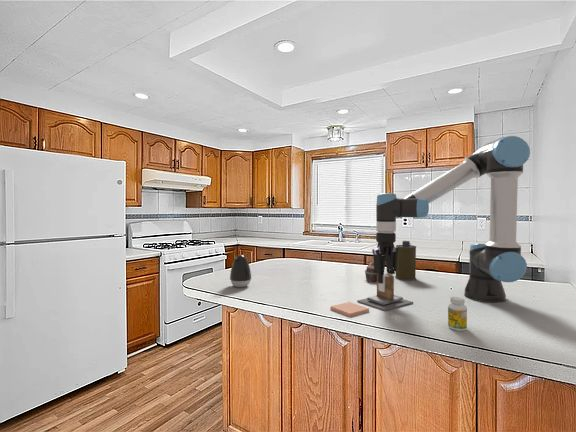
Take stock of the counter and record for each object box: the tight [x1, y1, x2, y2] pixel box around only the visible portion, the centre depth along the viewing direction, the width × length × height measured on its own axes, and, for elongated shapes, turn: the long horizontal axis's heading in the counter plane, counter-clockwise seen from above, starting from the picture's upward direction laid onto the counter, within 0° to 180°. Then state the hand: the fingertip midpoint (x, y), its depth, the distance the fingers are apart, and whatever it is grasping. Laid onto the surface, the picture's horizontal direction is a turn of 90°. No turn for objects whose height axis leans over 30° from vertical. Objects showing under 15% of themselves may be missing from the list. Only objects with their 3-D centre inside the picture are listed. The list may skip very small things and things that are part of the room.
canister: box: [394, 240, 417, 281], centre depth 177 cm, size 11×10×20 cm
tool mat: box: [357, 297, 414, 312], centre depth 133 cm, size 14×17×1 cm
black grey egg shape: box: [229, 254, 252, 288], centre depth 159 cm, size 10×10×15 cm
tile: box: [330, 301, 370, 318], centre depth 123 cm, size 10×2×10 cm
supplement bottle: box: [447, 296, 468, 332], centre depth 106 cm, size 5×5×10 cm
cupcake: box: [364, 261, 377, 283], centre depth 172 cm, size 10×10×10 cm
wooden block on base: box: [366, 273, 404, 305], centre depth 133 cm, size 12×8×10 cm, turn 125°
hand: (385, 290), depth 133 cm, fingers open, 3 cm apart
